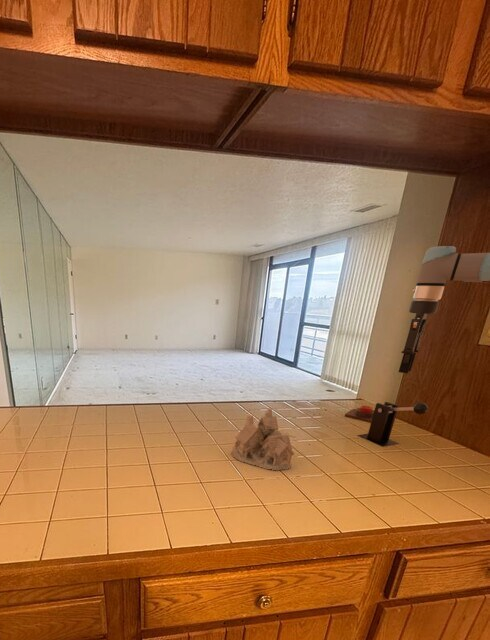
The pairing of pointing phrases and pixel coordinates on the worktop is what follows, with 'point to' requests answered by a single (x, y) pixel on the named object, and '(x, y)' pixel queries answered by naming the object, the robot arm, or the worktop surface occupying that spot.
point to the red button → (366, 409)
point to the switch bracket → (381, 425)
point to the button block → (360, 415)
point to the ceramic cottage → (263, 444)
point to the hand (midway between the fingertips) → (404, 371)
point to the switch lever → (412, 408)
